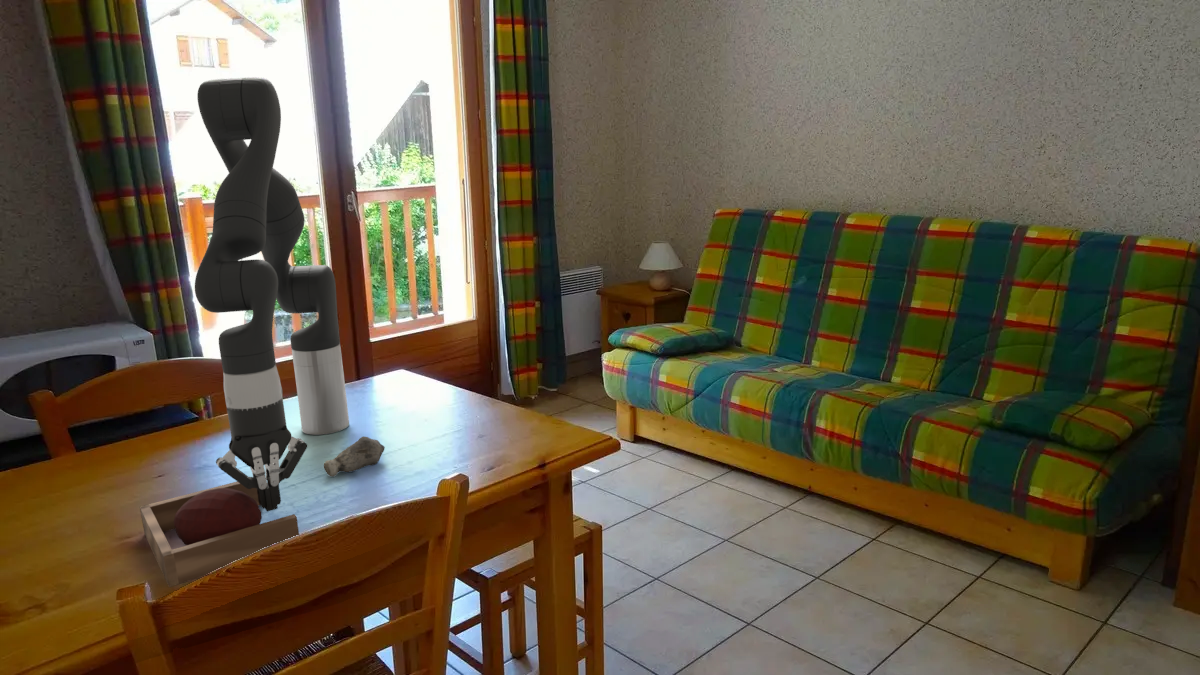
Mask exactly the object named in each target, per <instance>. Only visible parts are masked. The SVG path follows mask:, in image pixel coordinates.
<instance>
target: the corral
mask: <svg viewBox="0 0 1200 675" xmlns="http://www.w3.org/2000/svg"><path fill="white" fill-rule="evenodd" d="M218 488H230V489H235V490H238V491H242V492H244V493H245V494H247V495H249V496H250V497H251V498H253V499H254V500H255V501H256V502H257V504H258V506H259V507H260V506H261V505H260V504H259V501H258V494H257V488H251V489H247V488H246V487H244V486H243V485H242V484H240V483H239V482H237V481H233V482H230V483H224V484H222V485H218V486H214V487H211V488H210V487H209V488H207V489H202V490H199V491H195V492H191V493H187V494H182V495H179V496H175V497H172V498H168V499H165V500H160V501H156V502H152V503H149V504H145V505H140V506H139V512H140V517H141V522H142V528H143V532H144V536H145V538H146V540H147V543H148V544H149V547H150V549H151V551H152V553H153V555H154V557H155V560H156V562H157V564H158V566H159V569H160V571H161V572H162V575H163V577H164V579H165V581H166V584H167V585H168V588H170V587H174V586H176V585H180V584H184V583H186V582H189V581H192V580H196V579H199V578H202V577H201V576H203V577H205V576H204V575H206V574H208V573H210V572H212V571H214V570H216V569H218V568H220V567H223V566H225V565H227V564H229V563H231V562H233V561H235V560H238V559H240V558H242V557H245V556H247V555H250V554H252V553H254V552H256V551H258V550H260V549H262V548H264V547H267V546H270V545H272V544H274V543H277V542H280V541H283V540H285V539H288V538H291V537H293V536H296V535H299V536H300V530H299V524H298V523H299V522H298V517H297V515H296V514H294V513H293V514H290V515H286V516H283V517H280V518H275V519H272V520H270V521H266V522H262V523H260V524H259V525H255V526H252V527H248V528H245V529H241V530H238V531H235V532H231V533H228V534H224V535H221V536H217V537H214V538H211V539H207V540H204V541H200V542H197V543H193V544H190V545H187V546H186V545H183V546H181V547H177V548H173V549H172V548H171V545H170V543H169V542H168V540H167V537H166V535H165V534H164V533H165V532H169V531H173V530H175V526H174V523H173V522H174V518H175V514H176V513H177V511H178V510H179V509H180V508H181V507H182V506H183V504H184V503H186V502H187V501H188V500H190V499H191V498H193V497H194V496H196V495H197V494H199V493H202V492H204V491H208V490H213V489H218ZM206 576H207V575H206Z"/></svg>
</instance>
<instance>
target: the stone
mask: <svg viewBox="0 0 1200 675" xmlns="http://www.w3.org/2000/svg"><path fill="white" fill-rule="evenodd" d="M384 451H385V446H384V445H383V444H381V442H380V441H379V440H377V439H373V438H370V437H368V436H361V437H359V439H358V440H356V441H355V442H354V443H352V444H351V445H349V446H347V447H346V448H345V449H344V450H341V452H340V453H339V454H337V455H336V456H335V457H334V458H332V459H328V460H326V461H324V463H323V469H324V472H325V473H326V474H327V476H329V477H330V478H334V477H336V476H337V475H338V473H340V472H342V473H352V472H355V471H356V472H357V471H358V470H361V469H363V468H365V467H370V466H375V465H377V464H378V463H379V462H380V459H381V458H382V455H383V453H384Z"/></svg>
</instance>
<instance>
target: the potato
mask: <svg viewBox="0 0 1200 675" xmlns="http://www.w3.org/2000/svg"><path fill="white" fill-rule="evenodd" d="M262 518H263V516H262V511H261V509H260V505H259V506H258V504H257V502H256V501H255V500H254V499H253V498H251V497H250V496H249V495H247V494H245V493H244V492H242V491H238V490H235V489H230V488H218V489H213V490H208V491H204V492H202V493H199V494H197V495H196V496H194V497H193V498H191V499H190V500H188V501H187V502H186V503H184V504H183V506H182V507H181V508H180V509H179V510H178V511H177V513H176V514H175V518H174V522H173V523H174V526H175V529H174V530H175V533H176V535H177V537H178V539H179V540H180V541H181V542H182V543H183V544H184V546H187V545H190V544H193V543H197V542H200V541H204V540H207V539H211V538H214V537H217V536H221V535H224V534H228V533H231V532H235V531H238V530H241V529H245V528H248V527H252V526H255V525H259V524H261V522H262Z"/></svg>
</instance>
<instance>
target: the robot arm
mask: <svg viewBox="0 0 1200 675" xmlns="http://www.w3.org/2000/svg"><path fill="white" fill-rule="evenodd" d="M197 105H198V110H199V113H200V116H201V118H202V122H203V124H204V126H205V129H206V131H207V133H208V135H209V137H210V138H211V142H212V143H213V145H214V147H215V149H216V150H217V152H218V155H219V156H220V158H221V160H222V162H223V163H224V166H225V167H226V170H227V171H228V174H227V175H226V177H225V178H224V179H223V181H222V182H221V184H220V185H219V187H218V189H217V191H216V192H217V193H216V195H215V198H214V204H213V218H212V219H213V221H212V224H213V225H212V234H211V237H210V240H209V242H208V245H207V248H206V250H205V253H204V256H203V257H202V259H201V262H200V263H199V267H198V269H197V272H196V275H195V280H194V293H195V297H196V299H197V303H199V305H200V306H201V307H202V308H203V309H204V310H206V311H207V312H211V313H231V312H233V313H234V312H245V311H252V318H251V320H250V321H249V322H247V323H243V324H240V325H236V326H234V327H230V328H228V329H225V330H224V331H222V332H220V334H219V337H218V346H219V347H218V348H219V353H220V354H219V355H220V360H221V367H222V373H223V392H224V398H225V399H224V400H225V405H226V413H227V416H228V417H227V418H228V423H229V429H230V441H229V444H228V449H229V450H228V451H227V452H226V453H225V454H224V455H223V456H222V457H218V458H217V459H216V461H215V463H216V465H217V467H218V468H219V469H220V470H221V471H222V472H224V473H225V474H226V475H228V476H229V477H230V478H232V479H234V480H235V482H239V483H240V484H242V485H243V486H244V487H246V488H247V489H251V488H257V494H258V501H259V504H260V505H259V506H260V507H261V508H262V509H263V510H265V511H266V512H272V511H275V510H277V509H278V506H279V505H281V502H282V497H281V493H280V492H281V491H280V483H281V482H282V481H283V480H287V479H289V478H291V476H292V474H293V473H294V471H295V469H296V468H297V465H298V464H299V462H300V460H301V459H302V457H303V455H304V454H305V452H306V450H307V448H308V444H307V443H306V442H305V440H303V439H302V438H300V437H298V438H296V437H294V436H292V433H291V431H290V430H289V429H288V427H287V420H286V412H285V406H284V400H283V398H284V397H283V387H282V383H281V378H280V375H279V371H278V368H277V362H276V354H275V348H274V341H273V338H274V337H273V323H274V314H275V307H276V302H277V303H278V306H279V307H280V309H281V310H282V311H283V312H285V313H287V314H309V313H310V314H312V313H313V314H315V313H316V314H318V315H317V317H318V318H317V319H316V321H315V322H313V323H312V324H310V325H307V326H305V327H302V328H300V329H298V330H296V331H294V332H293V333H292V334H291V335H290V339H289V340H290V347H291V348H290V349H291V355H292V362H293V369H294V377H295V384H296V394H297V399H298V400H297V401H298V408H299V417H300V424H301V430H302V432H303V433H304V434H306V435H311V436H313V435H315V436H317V435H319V436H320V435H328V434H335V433H337V432H340V431H343V430H344V429H346V428H348V427H349V425H350V418H349V409H348V399H347V391H346V382H345V373H344V366H343V357H342V356H343V355H342V348H341V340H340V329H339V316H338V306H337V305H338V304H337V303H338V302H337V287H336V285H337V284H336V279H335V274H334V272H333V270H332V268H331V267H330V266H329V265H324V264H321V265H320V264H318V265H315V264H312V265H296V266H294V265H291V264H290V263H289V258H290V256H291V253H292V251H293V250H294V248H295V247H296V245H297V243H298V241H299V239H300V237H301V235H302V232H303V230H304V227H305V220H306V219H305V214H304V212H303V211H304V210H303V208H302V205H301V203H300V199H299V195H298V194H297V190H296V189H295V187H294V186H293V185H292V184H293V183H291V182H290V181H289V179H287V178H286V177H285V176H284V175H283V174H282V173H281V172H279V171H277V170H276V169H275V168H274V164H275V159H276V153H277V148H278V145H279V144H278V143H279V139H280V133H281V124H282V123H281V122H282V112H281V109H282V108H281V105H280V100H279V96H278V93H277V90H276V89H275V86H274V85H273V83H272V81H270V80H269V79H267V78H265V77H256V76H254V77H253V76H252V77H249V76H248V77H236V78H232V77H231V78H217V79H210V80H206V81H204V82H202V83H201V84H200V85H199V87H198V90H197ZM246 140H247V141H248V140H250V141H249V144H247V143H246ZM260 252H261V253H262V254H261V255H262V257H263V259H246V258H249V257H253V256H255V255H257V254H259V253H260ZM243 259H245V260H243ZM286 449H287V450H288V452H287V453H286V455H285V457H284V458H283V460H282V462H281V463H280V460H281V458H282V457H283V456H284V453H285V451H286ZM236 458H237V459H238V460H240V461H241V462H242V463H244V464H245V465H246V466H247V467H250V468H249V469H250V471H251V473H252V476H249V475H247V474H245V472H243V471H242V470H240V469H239V468H238V467H237V465H238V462H237V461H236V460H235V459H236Z"/></svg>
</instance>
